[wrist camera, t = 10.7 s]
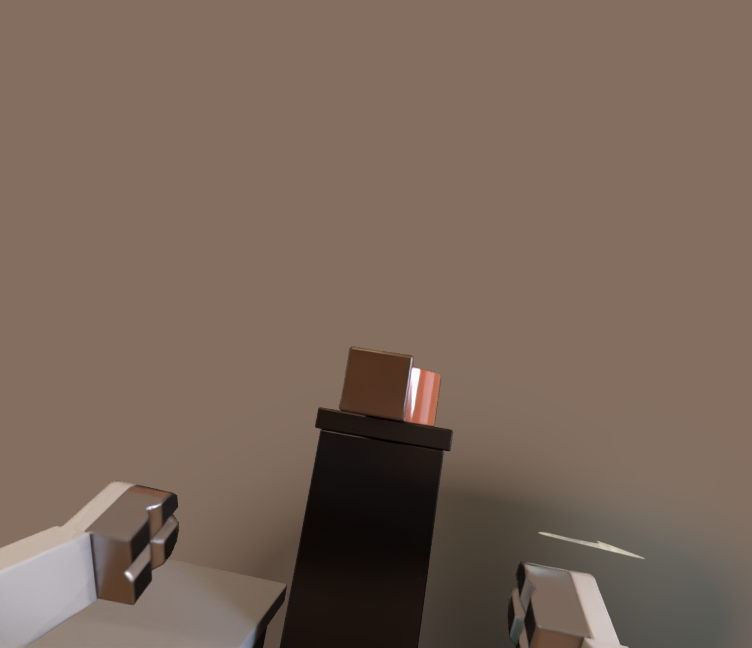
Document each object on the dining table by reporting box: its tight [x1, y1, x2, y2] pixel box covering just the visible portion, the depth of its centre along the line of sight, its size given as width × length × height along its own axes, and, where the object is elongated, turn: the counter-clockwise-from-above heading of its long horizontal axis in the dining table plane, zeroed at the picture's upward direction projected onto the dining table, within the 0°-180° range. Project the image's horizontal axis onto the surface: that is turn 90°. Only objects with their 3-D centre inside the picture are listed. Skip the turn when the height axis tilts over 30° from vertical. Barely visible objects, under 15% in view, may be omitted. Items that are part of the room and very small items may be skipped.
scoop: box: [339, 346, 441, 427], centre depth 23 cm, size 6×18×3 cm, turn 176°
